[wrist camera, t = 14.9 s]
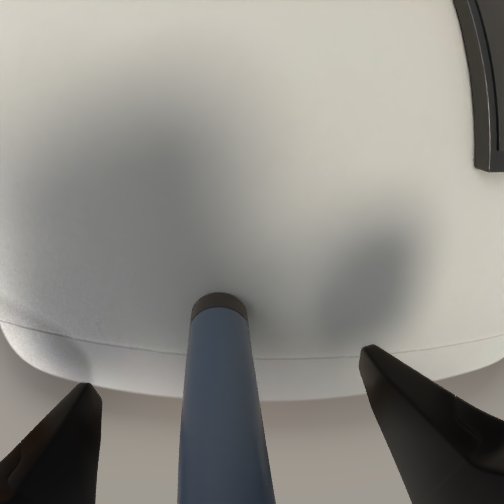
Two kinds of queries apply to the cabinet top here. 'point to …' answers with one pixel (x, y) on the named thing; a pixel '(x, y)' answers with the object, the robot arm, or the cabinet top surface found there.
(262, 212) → the cabinet top surface
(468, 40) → the tablet
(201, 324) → the stylus
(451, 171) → the cabinet top surface
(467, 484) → the robot arm
